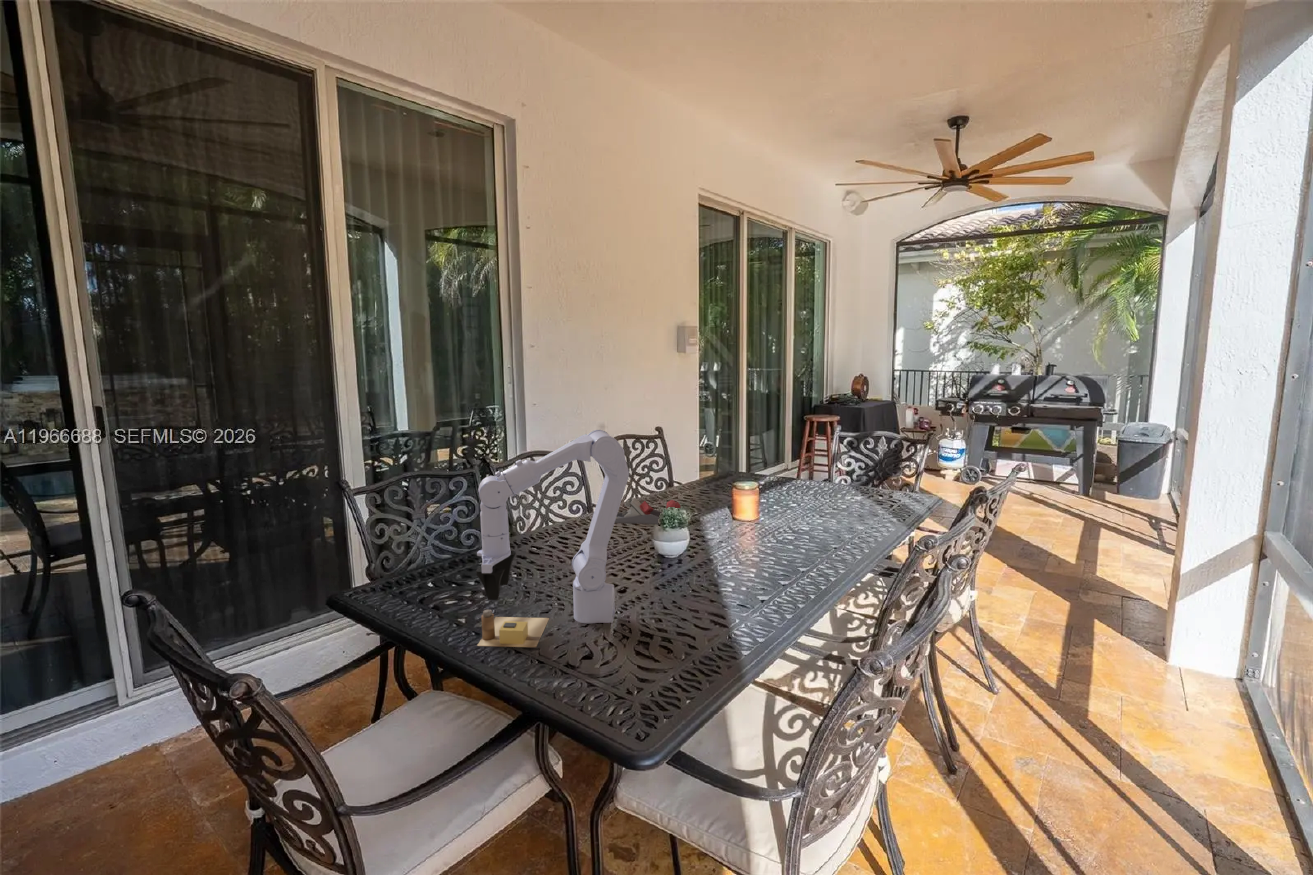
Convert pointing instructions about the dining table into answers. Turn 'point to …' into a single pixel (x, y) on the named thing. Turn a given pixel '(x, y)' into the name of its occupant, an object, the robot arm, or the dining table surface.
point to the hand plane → (641, 512)
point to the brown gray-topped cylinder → (488, 625)
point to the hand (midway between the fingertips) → (498, 591)
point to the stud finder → (513, 632)
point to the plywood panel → (534, 631)
